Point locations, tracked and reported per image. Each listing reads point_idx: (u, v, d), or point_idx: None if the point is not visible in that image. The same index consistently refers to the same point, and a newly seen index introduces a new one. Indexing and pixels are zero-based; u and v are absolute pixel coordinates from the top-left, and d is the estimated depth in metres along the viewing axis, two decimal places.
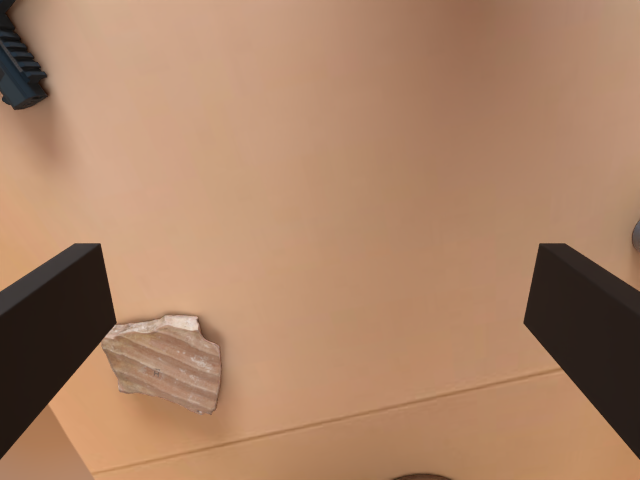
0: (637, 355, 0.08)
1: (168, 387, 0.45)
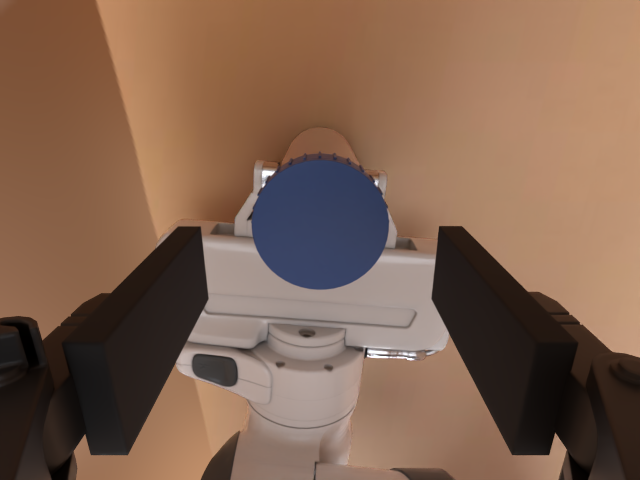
0: (484, 315, 0.10)
1: None
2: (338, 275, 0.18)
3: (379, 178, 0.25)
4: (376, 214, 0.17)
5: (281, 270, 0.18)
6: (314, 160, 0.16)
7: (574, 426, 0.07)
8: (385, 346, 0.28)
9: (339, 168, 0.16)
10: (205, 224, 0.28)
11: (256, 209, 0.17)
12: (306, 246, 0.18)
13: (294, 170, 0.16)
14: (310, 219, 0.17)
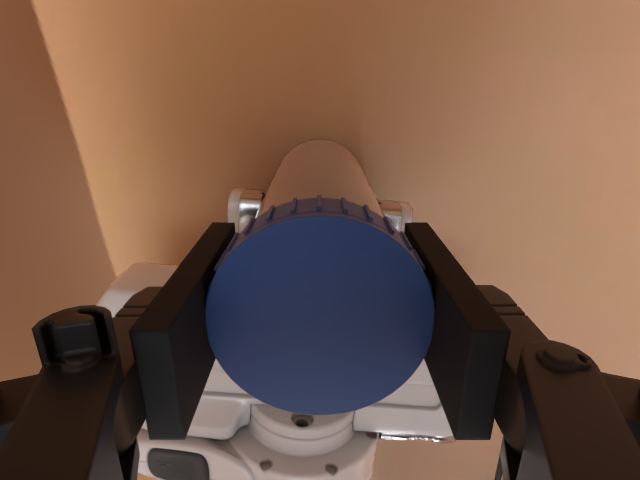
0: (435, 306, 0.10)
1: None
2: (349, 395, 0.11)
3: (401, 214, 0.18)
4: (414, 303, 0.10)
5: (256, 388, 0.11)
6: (309, 217, 0.09)
7: (508, 413, 0.08)
8: (406, 431, 0.21)
9: (353, 230, 0.09)
10: (166, 272, 0.21)
11: (211, 296, 0.10)
12: (297, 352, 0.11)
13: (274, 233, 0.09)
14: (303, 311, 0.10)
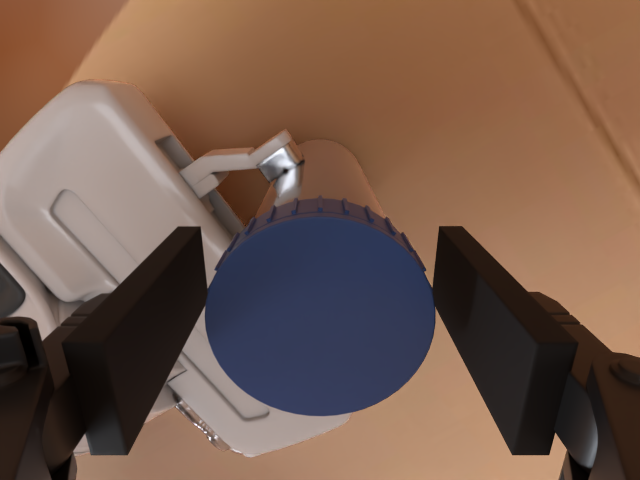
0: (484, 315, 0.10)
1: None
2: (403, 354, 0.11)
3: None
4: (365, 246, 0.10)
5: (332, 407, 0.11)
6: (222, 264, 0.10)
7: (574, 426, 0.07)
8: (204, 418, 0.21)
9: (258, 243, 0.10)
10: (157, 123, 0.18)
11: (229, 374, 0.11)
12: (329, 359, 0.11)
13: (215, 298, 0.10)
14: (297, 328, 0.10)
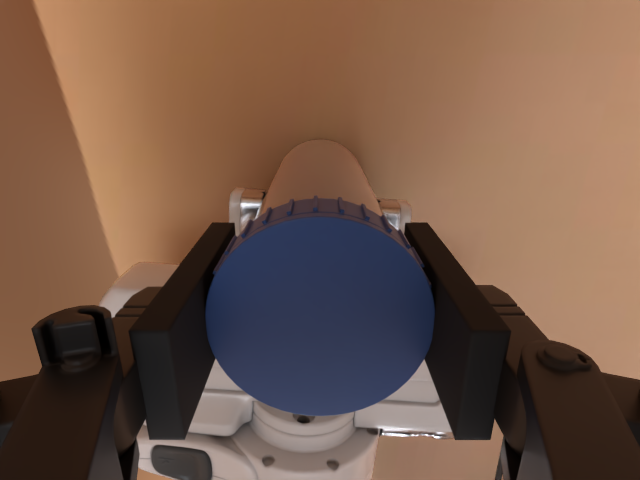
0: (435, 306, 0.10)
1: None
2: (402, 283, 0.10)
3: (400, 212, 0.18)
4: (274, 246, 0.10)
5: (404, 369, 0.11)
6: (213, 352, 0.11)
7: (508, 413, 0.08)
8: (407, 428, 0.22)
9: (213, 317, 0.10)
10: (169, 271, 0.21)
11: (308, 413, 0.11)
12: (355, 340, 0.10)
13: (236, 375, 0.11)
14: (307, 342, 0.11)
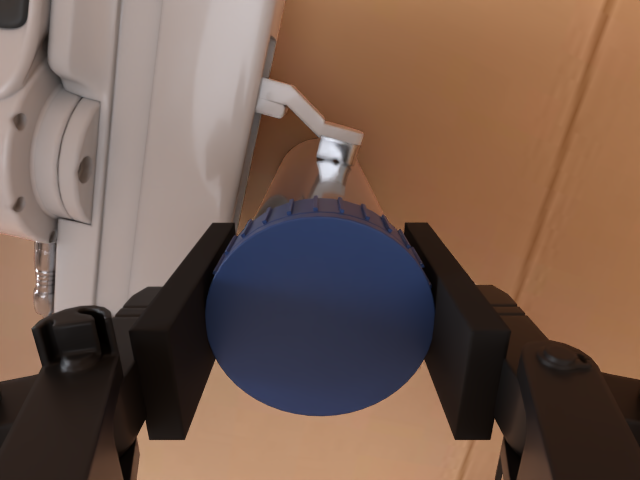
0: (435, 306, 0.10)
1: None
2: (402, 283, 0.10)
3: None
4: (274, 246, 0.10)
5: (404, 369, 0.11)
6: (213, 352, 0.11)
7: (508, 413, 0.08)
8: (60, 275, 0.19)
9: (213, 317, 0.10)
10: (278, 22, 0.17)
11: (307, 413, 0.11)
12: (355, 340, 0.10)
13: (236, 375, 0.11)
14: (307, 343, 0.11)
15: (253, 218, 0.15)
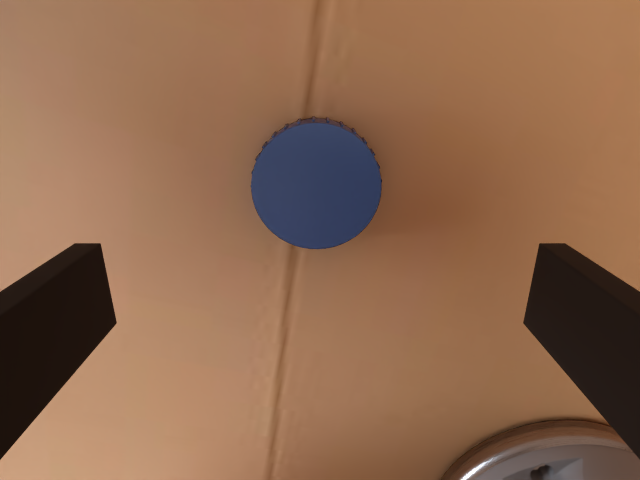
0: (637, 355, 0.08)
1: None
2: (361, 162, 0.18)
3: None
4: (290, 140, 0.17)
5: (364, 217, 0.19)
6: (255, 206, 0.19)
7: None
8: None
9: (256, 184, 0.18)
10: None
11: (309, 246, 0.19)
12: (336, 198, 0.18)
13: (268, 221, 0.19)
14: (309, 200, 0.19)
15: None
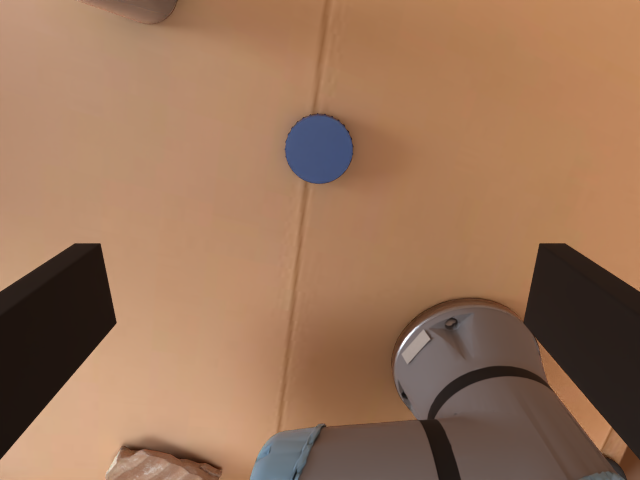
0: (637, 355, 0.08)
1: None
2: (342, 136, 0.35)
3: None
4: (306, 124, 0.35)
5: (344, 165, 0.36)
6: (287, 159, 0.36)
7: None
8: None
9: (288, 147, 0.35)
10: None
11: (315, 182, 0.36)
12: (329, 155, 0.36)
13: (293, 168, 0.36)
14: (315, 156, 0.36)
15: None
